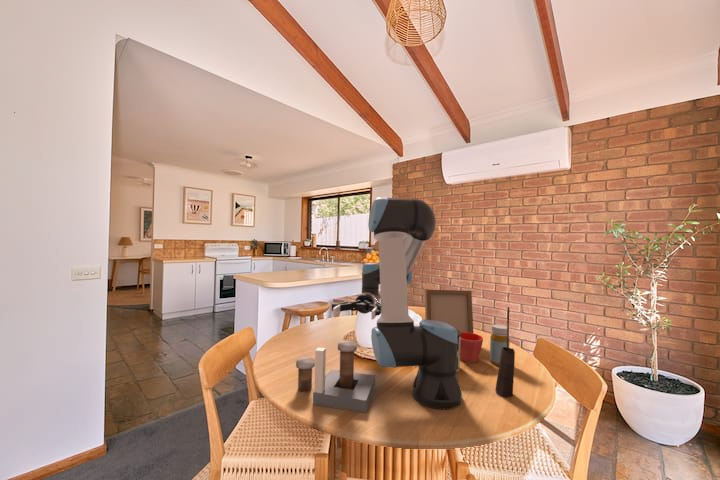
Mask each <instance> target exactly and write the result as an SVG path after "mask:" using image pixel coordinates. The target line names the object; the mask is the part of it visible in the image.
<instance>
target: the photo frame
mask: <svg viewBox="0 0 720 480" xmlns="http://www.w3.org/2000/svg"><path fill="white" fill-rule="evenodd" d="M424 300H425V301H424V303H425V305H424V309H425V310H424V311H425V314H424V315H425V317H424V318H425V319H424V320H435V321H439V322H443V323H446V324H449V325H451V326H453V327H454V328H455V329H457V330H459V331H460V332H469V333H474V320H473V318H474V316H473V299H472V290H456V289H455V290H452V289H449V290H447V289H425V290H424Z"/></svg>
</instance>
